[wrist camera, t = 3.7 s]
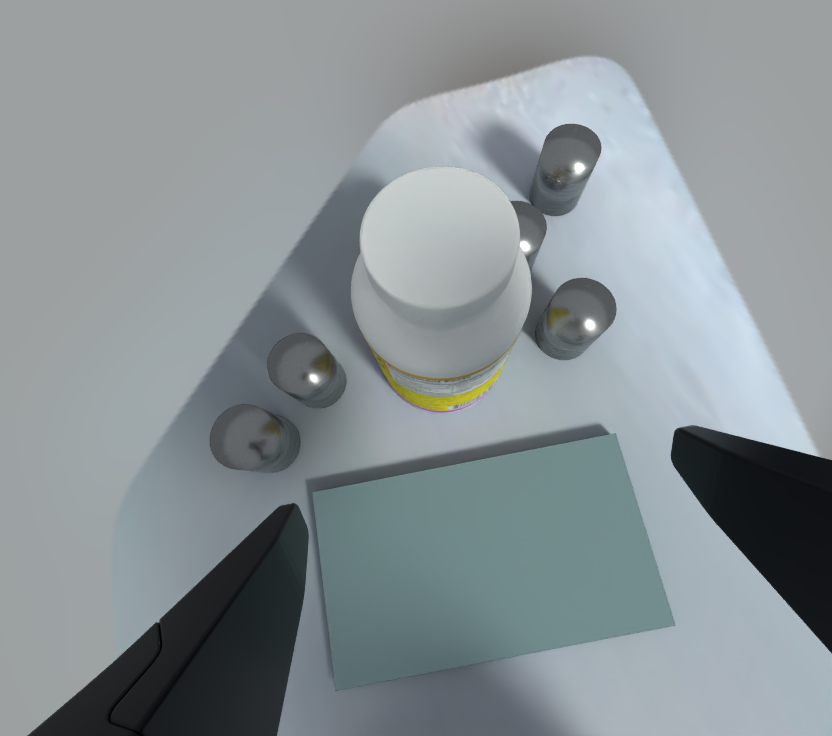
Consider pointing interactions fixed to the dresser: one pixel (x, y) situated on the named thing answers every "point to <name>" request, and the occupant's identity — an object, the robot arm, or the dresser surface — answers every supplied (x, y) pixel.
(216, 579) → the robot arm
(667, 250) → the dresser surface
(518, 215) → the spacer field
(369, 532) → the rubber mat
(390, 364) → the supplement bottle
